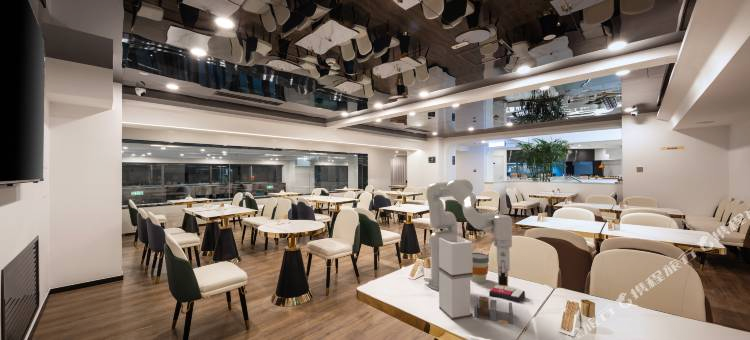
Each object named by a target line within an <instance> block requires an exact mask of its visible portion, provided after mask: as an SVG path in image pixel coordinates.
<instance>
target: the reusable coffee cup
mask: <svg viewBox="0 0 750 340" xmlns="http://www.w3.org/2000/svg"><path fill="white" fill-rule="evenodd" d="M489 262H490V258H489V255H488V254H486V253H483V252H473V280H470V282H472V283H476V284H482V283H486V281H487V274H488V272H489Z"/></svg>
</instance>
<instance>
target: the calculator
mask: <svg viewBox="0 0 750 340" xmlns="http://www.w3.org/2000/svg"><path fill="white" fill-rule="evenodd" d="M525 292H526V291H525V290H524V289H518V288H514V287H512V286H511V287H510V286H508V287H506V286H499V285H498V284H495V285H494V286H493V287H492V288H491V289H490V290H489V291H488V295H489V296H488V297H490V298H495V299H496V298H497V299H503V300H507V301H512V302H515V303H521V302H523V301H524V300H525V298H526V293H525Z"/></svg>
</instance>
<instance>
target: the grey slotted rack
mask: <svg viewBox="0 0 750 340" xmlns="http://www.w3.org/2000/svg"><path fill="white" fill-rule="evenodd" d="M489 299H490V298H489ZM489 303H490V304H489V315H488V316H483V315H479V296H478V297H477V296H475V299H474V303H473V304H474V305H473V316H474V318H476V319H482V320H487V321H491V322H492V321H493V322H497V323H505V324H509V325H510V324H511V325H514V311H513V303H512V302H508V312H506V311H501V310H497V300H496V299H492V298H491V299H490V301H489Z"/></svg>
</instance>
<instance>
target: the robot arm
mask: <svg viewBox="0 0 750 340" xmlns="http://www.w3.org/2000/svg"><path fill="white" fill-rule="evenodd" d="M473 190H474V185H473V184H472V182H471V181H470V180H467V179H453V180H449V181H447V182H444V181H443V182H442V181H441V182H434V183H431V184H429V186H428V187H427V188H426V192H425V193H426V200H427V203H428V213H429V222H430V227H431V228H432V229H433V230H440V231H435V232H434V231H433V232H432V233H431V234H430V235H429V237H428V242H429V247H430V276H424V277H423V280H424V282H427V283H428V287H429V288H430V289H432V290H435V291H439V238H442V239H444V240H446V241H449V242H454V243H457V236H459V235H458V234H459V233H458V232H459V231H458V223H457V222H458V221H457V217H456V216H455V214H454V213H453V212H451V211H445V206H444V203H443V201H442V199H441V198H450V197H451V198H453V199H454V200H456V201H457V203H458V204H459V205H461V207H462V212H463V216H464V218H465V219H466V221H467V222H468V223H469V224H470V225H471V226H472V227H473V228H474V229H477V230H479V231H483V230H489V229H493V246H495V247H496V262H497V264H496V265H497V270H498V269H499V270H500V275H499V285H505V287H506V285H507V276H506V269H507V270H508V272H509V271H510V270H511V265H510V264H511V261H510V260H511V259H510V258H511V255H510V253H511V252H510V248H512V246H513V245H512V244H513V233H512V232H513V227H512V226H513V222H512V221H513V219H512V217H511V215H506V214H499V213H497V212H495V211H494V212H493V211H491V212H490V211H489V212H482V213H480V212H478V210H476V208H474V205H475V203H476V201H477V196H476V195H475V194H474V193H473ZM442 229H444V230H442ZM500 267H501V268H502V269H500ZM501 270H502V271H501Z"/></svg>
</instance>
